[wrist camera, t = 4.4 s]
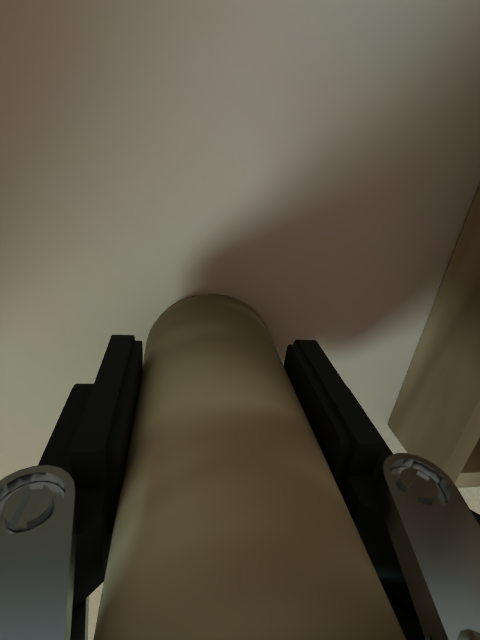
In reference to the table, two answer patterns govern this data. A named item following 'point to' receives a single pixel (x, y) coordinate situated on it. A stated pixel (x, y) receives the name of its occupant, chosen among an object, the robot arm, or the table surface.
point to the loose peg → (231, 500)
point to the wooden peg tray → (448, 370)
